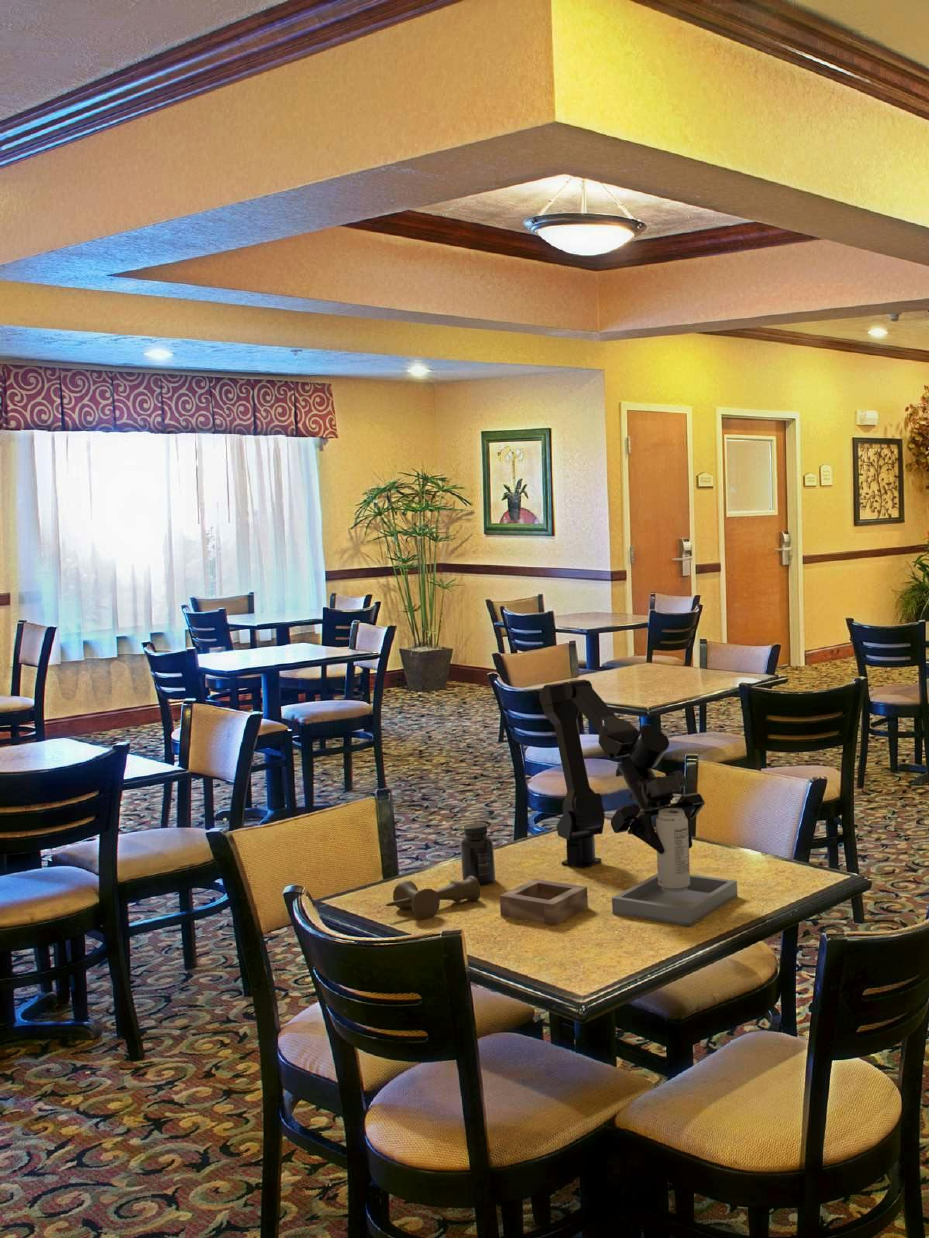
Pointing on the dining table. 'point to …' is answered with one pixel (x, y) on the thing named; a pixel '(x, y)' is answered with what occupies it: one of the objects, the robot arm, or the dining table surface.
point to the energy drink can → (673, 850)
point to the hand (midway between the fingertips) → (676, 849)
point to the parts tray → (675, 900)
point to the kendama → (433, 896)
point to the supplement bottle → (477, 854)
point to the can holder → (544, 901)
